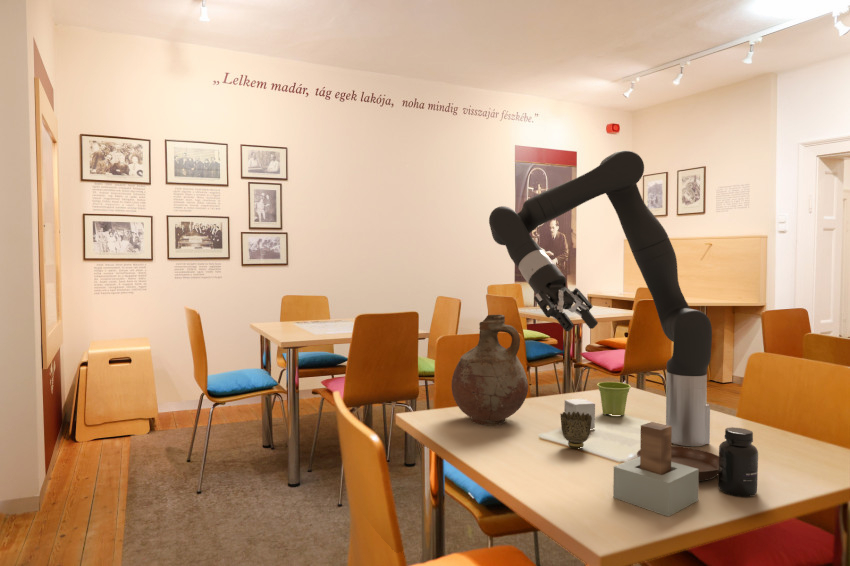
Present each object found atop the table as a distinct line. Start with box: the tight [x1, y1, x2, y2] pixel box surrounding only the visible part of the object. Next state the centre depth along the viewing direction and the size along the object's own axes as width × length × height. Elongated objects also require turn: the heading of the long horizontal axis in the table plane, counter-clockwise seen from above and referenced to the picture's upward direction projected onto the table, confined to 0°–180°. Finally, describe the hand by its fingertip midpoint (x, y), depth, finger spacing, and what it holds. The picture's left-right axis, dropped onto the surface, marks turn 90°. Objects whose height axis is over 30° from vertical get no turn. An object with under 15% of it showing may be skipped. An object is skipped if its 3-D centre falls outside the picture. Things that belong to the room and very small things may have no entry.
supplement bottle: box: [717, 427, 759, 498], centre depth 116 cm, size 7×7×12 cm
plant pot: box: [596, 381, 632, 416], centre depth 175 cm, size 9×9×9 cm
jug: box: [451, 314, 529, 426], centre depth 168 cm, size 22×22×30 cm
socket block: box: [612, 456, 699, 517], centre depth 113 cm, size 11×11×6 cm
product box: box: [563, 398, 596, 429], centre depth 161 cm, size 6×6×7 cm
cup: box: [559, 411, 592, 450], centre depth 144 cm, size 8×7×8 cm
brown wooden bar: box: [639, 421, 672, 475], centre depth 112 cm, size 4×4×12 cm
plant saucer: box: [636, 445, 719, 482], centre depth 129 cm, size 18×18×3 cm
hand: (582, 327), depth 129 cm, fingers open, 8 cm apart
